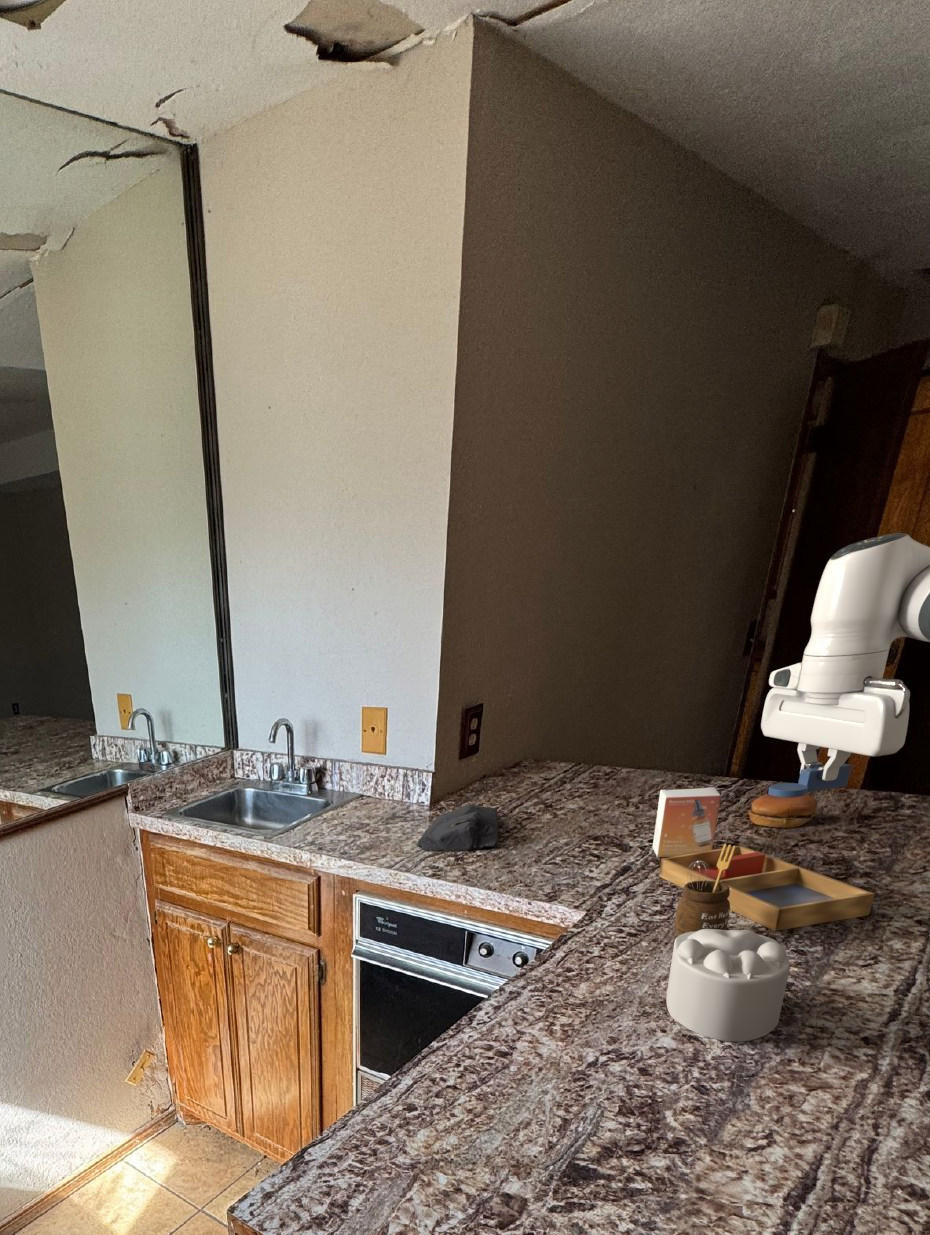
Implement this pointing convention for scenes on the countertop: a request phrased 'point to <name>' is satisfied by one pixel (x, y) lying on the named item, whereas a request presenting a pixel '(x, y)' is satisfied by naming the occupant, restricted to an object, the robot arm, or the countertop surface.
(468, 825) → the dark slate chunk
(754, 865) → the red angular block
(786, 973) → the lumpy-topped squat cylinder
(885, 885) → the countertop surface
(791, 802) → the burger
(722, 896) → the utensil holder
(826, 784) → the blue l-shaped block
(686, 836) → the small box
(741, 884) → the cutlery tray
